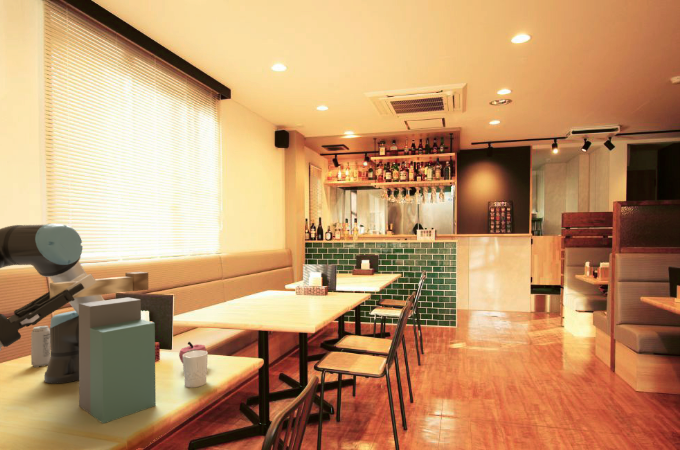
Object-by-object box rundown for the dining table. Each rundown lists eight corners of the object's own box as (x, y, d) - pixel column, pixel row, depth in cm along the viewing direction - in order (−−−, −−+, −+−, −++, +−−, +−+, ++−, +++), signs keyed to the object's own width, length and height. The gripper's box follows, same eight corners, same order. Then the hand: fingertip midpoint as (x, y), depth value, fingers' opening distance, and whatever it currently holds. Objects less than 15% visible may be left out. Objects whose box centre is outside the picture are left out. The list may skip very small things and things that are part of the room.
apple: (177, 374, 143) (177, 346, 144) (181, 366, 152) (180, 340, 152) (205, 371, 146) (205, 343, 146) (207, 364, 154) (207, 338, 154)
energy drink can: (37, 363, 160) (37, 325, 161) (53, 362, 161) (53, 325, 161) (27, 368, 154) (27, 329, 155) (44, 367, 155) (44, 328, 155)
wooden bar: (55, 300, 100) (55, 280, 100) (48, 298, 104) (48, 279, 104) (148, 289, 118) (148, 272, 118) (139, 288, 122) (139, 271, 122)
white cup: (200, 389, 129) (199, 357, 129) (178, 387, 130) (177, 356, 131) (212, 380, 136) (212, 350, 137) (191, 379, 138) (191, 350, 138)
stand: (103, 423, 106) (102, 309, 107) (79, 406, 118) (78, 303, 118) (155, 405, 117) (154, 302, 118) (129, 391, 128) (128, 297, 129)
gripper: (-5, 342, 100) (86, 286, 116) (12, 354, 89) (110, 290, 105) (-25, 319, 97) (71, 265, 113) (-10, 328, 86) (94, 267, 102)
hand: (90, 277), depth 109 cm, fingers closed on wooden bar, 4 cm apart
